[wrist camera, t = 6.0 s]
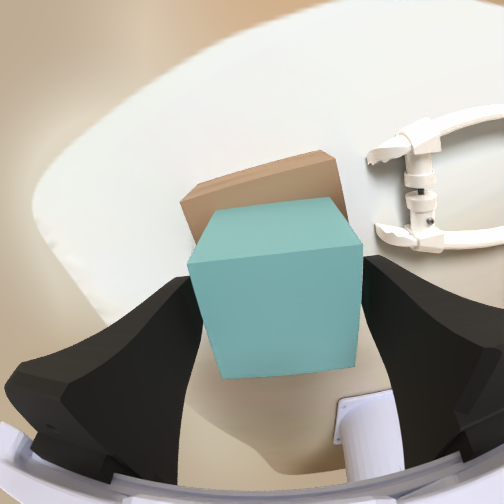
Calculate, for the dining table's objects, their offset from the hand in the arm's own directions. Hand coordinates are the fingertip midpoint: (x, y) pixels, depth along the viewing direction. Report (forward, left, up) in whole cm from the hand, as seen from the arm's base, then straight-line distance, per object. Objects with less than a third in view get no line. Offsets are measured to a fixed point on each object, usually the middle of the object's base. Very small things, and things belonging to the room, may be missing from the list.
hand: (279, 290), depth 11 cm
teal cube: (0, 0, -3) cm, 3 cm away
